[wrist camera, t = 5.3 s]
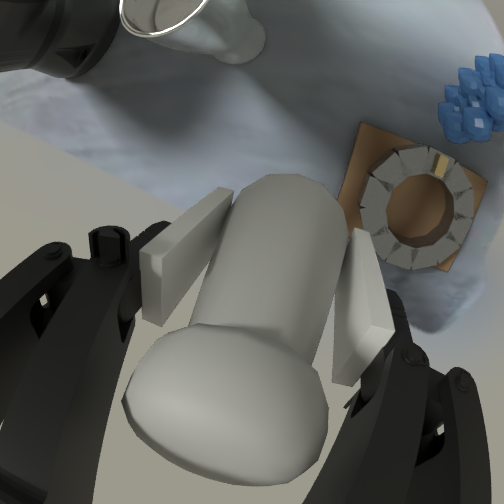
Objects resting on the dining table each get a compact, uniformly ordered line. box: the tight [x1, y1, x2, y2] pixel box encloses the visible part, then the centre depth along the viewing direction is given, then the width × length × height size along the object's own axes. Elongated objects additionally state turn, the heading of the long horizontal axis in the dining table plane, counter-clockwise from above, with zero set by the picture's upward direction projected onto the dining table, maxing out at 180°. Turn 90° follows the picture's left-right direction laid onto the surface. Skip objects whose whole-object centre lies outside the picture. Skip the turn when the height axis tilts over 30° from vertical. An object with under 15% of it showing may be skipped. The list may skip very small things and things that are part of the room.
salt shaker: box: [121, 174, 349, 486], centre depth 10 cm, size 6×6×13 cm
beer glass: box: [119, 0, 266, 64], centre depth 16 cm, size 7×7×15 cm
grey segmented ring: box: [357, 143, 474, 270], centre depth 24 cm, size 12×12×3 cm
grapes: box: [438, 53, 504, 144], centre depth 15 cm, size 12×7×12 cm, turn 147°
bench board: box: [337, 122, 488, 272], centre depth 26 cm, size 16×12×1 cm
